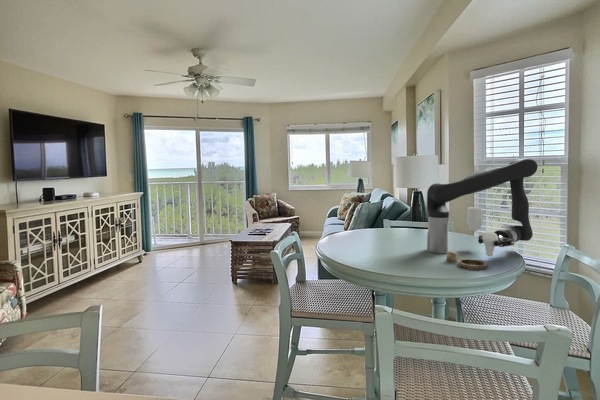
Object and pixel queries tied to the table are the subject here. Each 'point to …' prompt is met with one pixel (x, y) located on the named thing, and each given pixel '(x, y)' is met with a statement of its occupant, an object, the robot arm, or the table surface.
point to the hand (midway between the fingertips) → (487, 242)
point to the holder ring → (472, 264)
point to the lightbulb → (489, 242)
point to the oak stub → (451, 256)
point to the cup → (474, 218)
